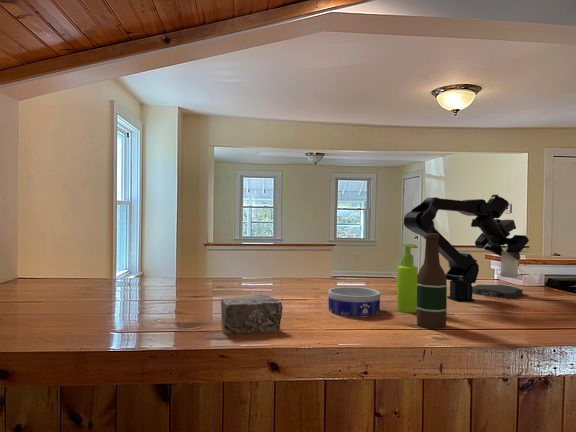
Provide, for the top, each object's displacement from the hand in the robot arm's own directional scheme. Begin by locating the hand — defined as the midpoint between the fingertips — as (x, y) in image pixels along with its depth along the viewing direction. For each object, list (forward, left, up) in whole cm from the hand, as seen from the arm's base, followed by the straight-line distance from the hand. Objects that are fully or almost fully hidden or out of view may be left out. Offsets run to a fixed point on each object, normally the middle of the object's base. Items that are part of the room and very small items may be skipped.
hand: (512, 258), depth 148 cm
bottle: (-1, 0, -7) cm, 7 cm away
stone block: (-98, -26, -14) cm, 102 cm away
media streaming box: (-3, +3, -14) cm, 15 cm away
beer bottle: (-51, -32, -14) cm, 62 cm away
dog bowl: (-65, -13, -14) cm, 68 cm away
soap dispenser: (-49, -16, -14) cm, 54 cm away
